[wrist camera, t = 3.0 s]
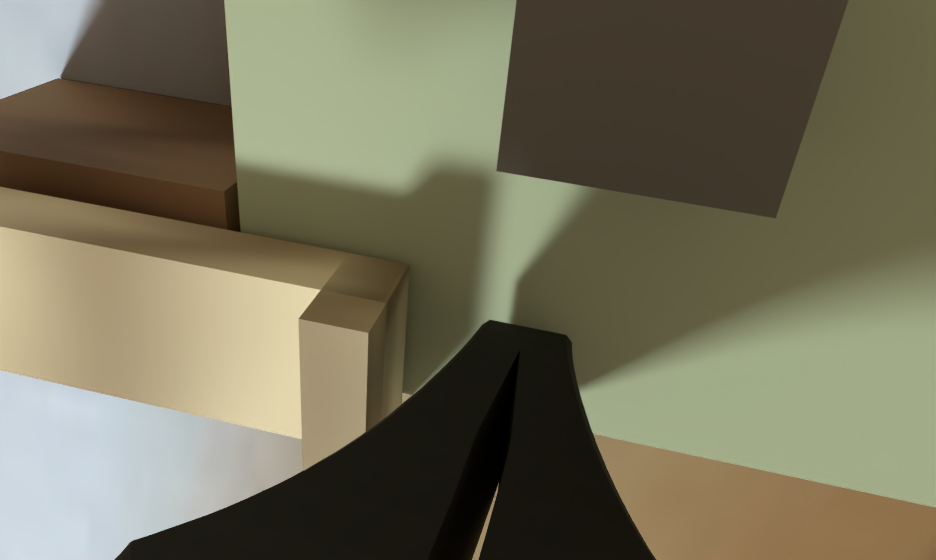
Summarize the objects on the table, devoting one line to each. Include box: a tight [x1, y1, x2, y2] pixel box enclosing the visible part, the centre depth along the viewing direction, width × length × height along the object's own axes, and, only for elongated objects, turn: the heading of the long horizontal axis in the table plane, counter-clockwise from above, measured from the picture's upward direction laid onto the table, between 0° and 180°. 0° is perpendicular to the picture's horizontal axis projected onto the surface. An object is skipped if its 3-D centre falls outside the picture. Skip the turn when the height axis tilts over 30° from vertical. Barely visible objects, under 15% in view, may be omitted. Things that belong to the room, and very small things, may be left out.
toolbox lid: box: [224, 0, 936, 507], centre depth 9 cm, size 12×12×4 cm
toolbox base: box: [0, 78, 241, 232], centre depth 12 cm, size 18×13×4 cm
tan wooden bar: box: [0, 187, 410, 471], centre depth 12 cm, size 8×3×2 cm, turn 85°
